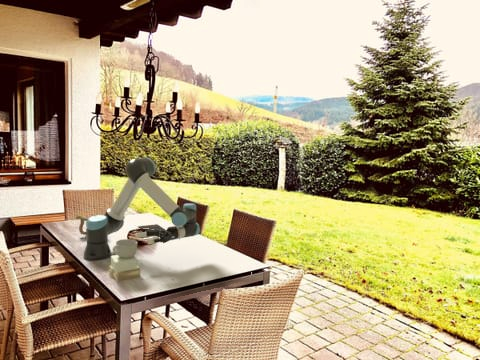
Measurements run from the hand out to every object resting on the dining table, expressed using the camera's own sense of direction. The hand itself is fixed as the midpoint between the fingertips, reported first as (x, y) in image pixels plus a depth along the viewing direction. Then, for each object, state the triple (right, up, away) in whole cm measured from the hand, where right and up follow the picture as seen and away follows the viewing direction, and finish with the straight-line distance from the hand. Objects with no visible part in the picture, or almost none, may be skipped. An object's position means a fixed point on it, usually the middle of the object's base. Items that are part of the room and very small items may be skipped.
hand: (141, 238), depth 206 cm
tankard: (-50, -8, +59) cm, 78 cm away
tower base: (-7, -19, -5) cm, 21 cm away
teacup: (-7, -9, -6) cm, 13 cm away
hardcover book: (-12, -7, +81) cm, 83 cm away
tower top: (-8, -14, -6) cm, 17 cm away
